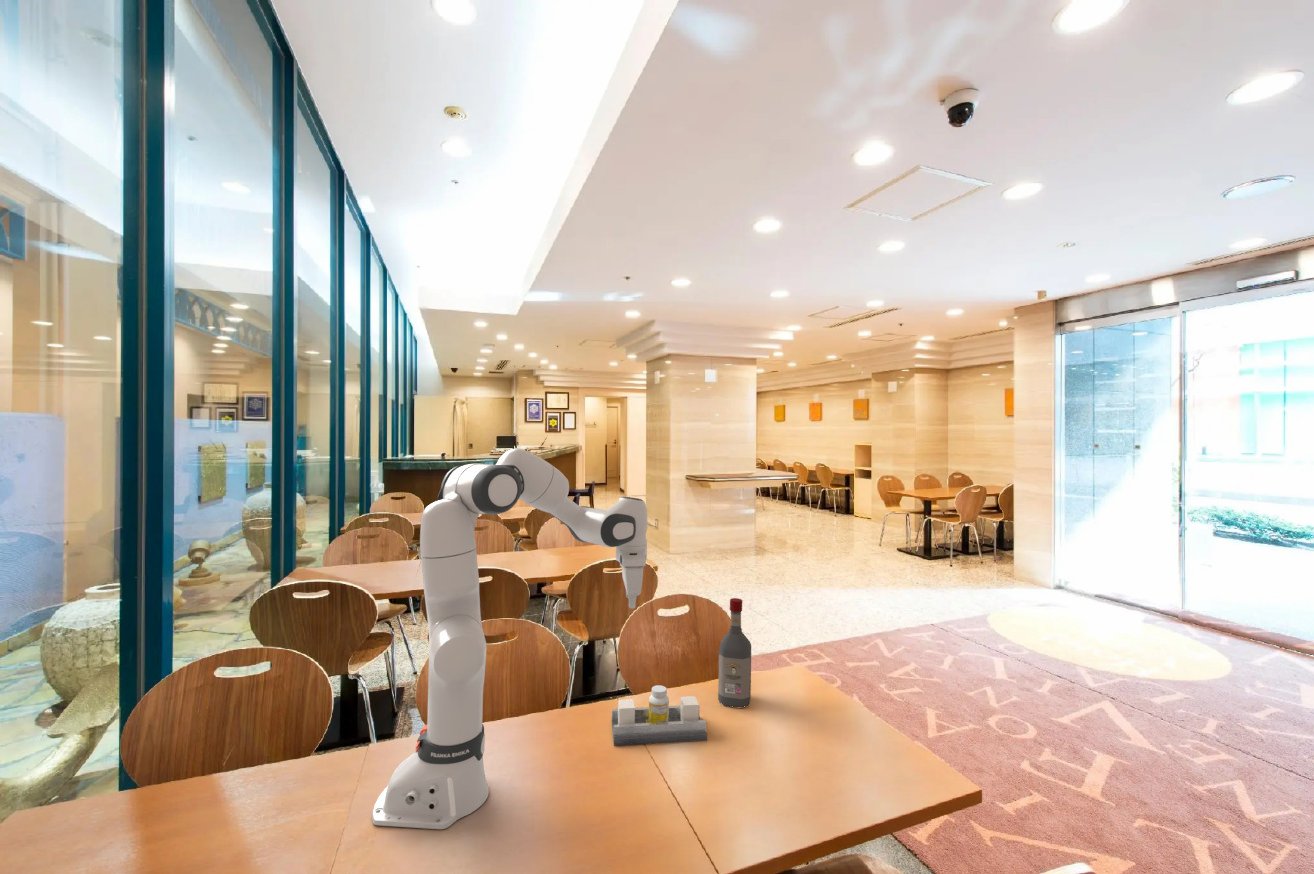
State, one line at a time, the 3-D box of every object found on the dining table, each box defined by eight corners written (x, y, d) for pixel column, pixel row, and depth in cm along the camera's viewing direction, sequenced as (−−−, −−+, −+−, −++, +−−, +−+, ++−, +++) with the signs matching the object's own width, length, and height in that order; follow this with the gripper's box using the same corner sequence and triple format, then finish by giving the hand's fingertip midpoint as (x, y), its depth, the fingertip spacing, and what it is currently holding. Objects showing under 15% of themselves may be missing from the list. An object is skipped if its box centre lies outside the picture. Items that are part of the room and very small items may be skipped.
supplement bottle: (663, 732, 138) (664, 694, 138) (645, 727, 140) (645, 690, 141) (671, 722, 143) (672, 686, 143) (653, 717, 145) (653, 682, 145)
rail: (613, 745, 134) (614, 729, 134) (611, 721, 146) (611, 706, 146) (707, 740, 138) (707, 724, 138) (697, 716, 150) (697, 702, 150)
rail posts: (619, 731, 138) (619, 708, 138) (617, 722, 143) (618, 699, 143) (698, 727, 141) (698, 704, 141) (694, 718, 146) (695, 695, 146)
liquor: (749, 710, 154) (750, 605, 154) (717, 705, 156) (719, 602, 156) (750, 695, 163) (752, 596, 163) (720, 691, 165) (722, 594, 165)
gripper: (617, 546, 161) (617, 592, 161) (622, 561, 141) (621, 614, 141) (638, 546, 162) (638, 592, 162) (646, 561, 142) (645, 613, 142)
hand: (630, 602), depth 151 cm, fingers open, 8 cm apart
